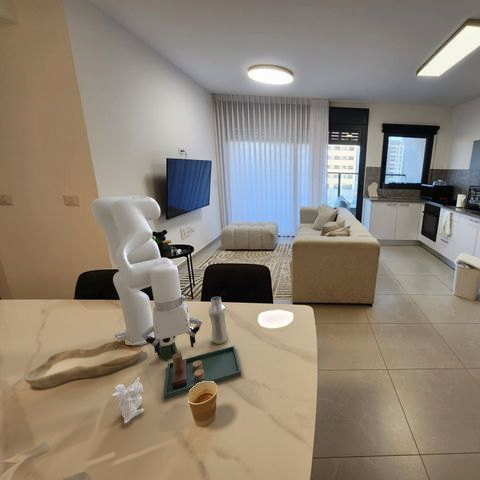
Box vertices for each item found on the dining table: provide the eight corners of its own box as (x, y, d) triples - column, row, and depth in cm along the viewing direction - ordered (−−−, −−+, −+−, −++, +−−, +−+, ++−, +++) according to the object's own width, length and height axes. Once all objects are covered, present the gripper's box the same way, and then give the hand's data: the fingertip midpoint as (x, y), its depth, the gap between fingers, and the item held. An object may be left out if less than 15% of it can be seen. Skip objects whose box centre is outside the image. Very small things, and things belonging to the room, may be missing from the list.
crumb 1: (193, 371, 92) (192, 367, 92) (193, 366, 95) (192, 361, 94) (202, 369, 94) (201, 364, 93) (202, 363, 96) (201, 359, 96)
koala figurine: (127, 431, 72) (119, 396, 69) (109, 424, 74) (100, 390, 71) (153, 405, 80) (147, 373, 77) (136, 400, 82) (130, 368, 79)
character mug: (161, 368, 95) (156, 337, 91) (148, 362, 98) (143, 332, 94) (187, 350, 104) (183, 321, 101) (175, 345, 107) (171, 317, 104)
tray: (165, 400, 82) (164, 395, 81) (168, 368, 95) (167, 363, 94) (241, 376, 92) (240, 371, 91) (234, 350, 105) (234, 345, 104)
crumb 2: (195, 381, 88) (194, 376, 88) (194, 375, 91) (194, 370, 90) (204, 378, 89) (204, 373, 89) (204, 372, 92) (203, 367, 92)
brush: (173, 390, 85) (169, 367, 82) (174, 369, 93) (171, 348, 91) (186, 386, 86) (183, 363, 84) (187, 366, 95) (183, 345, 93)
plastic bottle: (223, 347, 106) (219, 303, 101) (208, 345, 108) (203, 301, 102) (231, 337, 112) (228, 295, 107) (217, 335, 114) (213, 294, 108)
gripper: (198, 292, 89) (204, 336, 93) (138, 303, 82) (147, 350, 86) (199, 302, 83) (205, 348, 87) (133, 314, 75) (143, 364, 80)
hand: (176, 349), depth 86 cm, fingers open, 9 cm apart
